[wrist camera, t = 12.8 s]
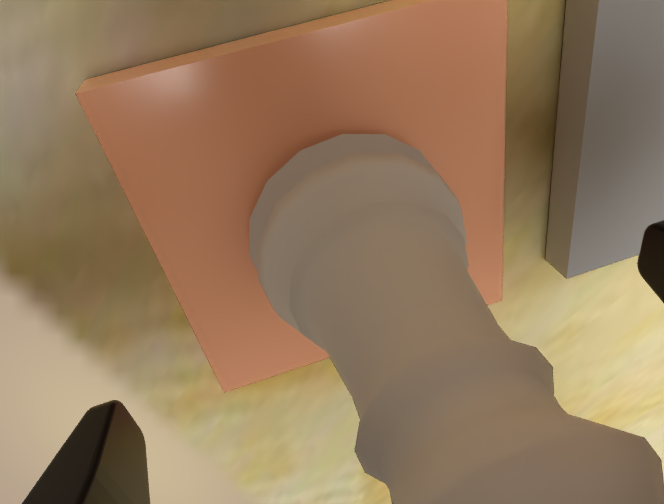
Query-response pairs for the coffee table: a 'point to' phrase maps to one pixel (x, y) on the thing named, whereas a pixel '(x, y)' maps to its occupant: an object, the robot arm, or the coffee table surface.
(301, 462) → the coffee table surface
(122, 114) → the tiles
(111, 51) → the coffee table surface
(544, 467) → the rook chess piece
